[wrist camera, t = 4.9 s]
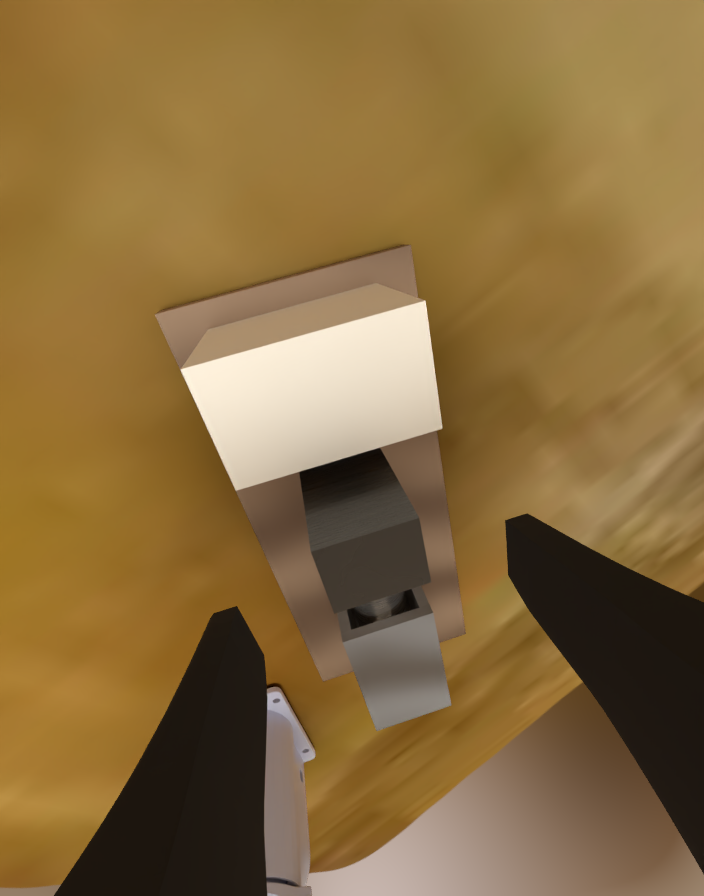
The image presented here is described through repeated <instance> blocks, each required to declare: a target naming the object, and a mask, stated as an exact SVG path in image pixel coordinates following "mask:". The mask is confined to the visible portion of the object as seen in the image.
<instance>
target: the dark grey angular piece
mask: <svg viewBox="0 0 704 896" xmlns="http://www.w3.org/2000/svg"><path fill="white" fill-rule="evenodd" d="M299 474H300V481H301V488H302V495H303V502H304V508H305V515H306V522H307V529H308V536H309V543H310V550H311V554H312V556H313V559H314V562H315V564H316V567H317V570H318V572H319V575H320V578H321V580H322V583H323V585H324V588H325V591H326V593H327V596H328V599H329V601H330V604H331V606H332V609H333V612H334V614H335V613H338V612H341V611H344V610H348V609H351V608H353V609H354V612H355V615H356V617H357V620H358V623H359V626H360V627H362V626H365V625H368V624H371V623H374V622H377V621H380V620H383V619H386V618H389V617H392V616H395V615H398V614H401V613H404V612H407V611H410V610H409V606H408V602H407V597H406V593H405V591H406V590H409V589H412V588H415V587H418V586H422V585H425V584H428V583H431V577H430V572H429V567H428V561H427V556H426V551H425V546H424V540H423V535H422V530H421V524H420V519H419V516H418V515H417V513H416V511H415V509H414V508H413V506H412V504H411V502H410V500H409V499H408V497H407V495H406V493H405V491H404V490H403V488H402V486H401V484H400V482H399V481H398V479H397V477H396V475H395V473H394V472H393V470H392V468H391V466H390V464H389V463H388V461H387V459H386V457H385V456H384V454H383V452H382V450H381V448H377V449H373V450H370V451H367V452H363V453H360V454H357V455H353V456H350V457H347V458H343V459H340V460H337V461H333V462H330V463H327V464H323V465H320V466H317V467H313V468H310V469H307V470H303V471H300V472H299Z"/></svg>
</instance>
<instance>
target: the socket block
mask: <svg viewBox="0 0 704 896" xmlns="http://www.w3.org/2000/svg"><path fill="white" fill-rule="evenodd" d="M180 370H181V372H182V374H183V376H184V378H185V381H186V383H187V385H188V387H189V389H190V392H191V394H192V396H193V398H194V400H195V402H196V405H197V407H198V409H199V411H200V413H201V416H202V418H203V420H204V422H205V424H206V426H207V429H208V431H209V433H210V435H211V437H212V440H213V442H214V444H215V446H216V448H217V450H218V453H219V455H220V457H221V459H222V461H223V464H224V466H225V468H226V470H227V472H228V474H229V477H230V479H231V481H232V483H233V485H234V488H235V490H236V491H237V490H240V489H244V488H247V487H250V486H254V485H257V484H260V483H264V482H267V481H270V480H274V479H277V478H280V477H284V476H287V475H290V474H294V473H297V472H300V471H303V470H307V469H310V468H313V467H317V466H320V465H323V464H327V463H330V462H333V461H337V460H340V459H343V458H347V457H350V456H353V455H357V454H360V453H363V452H367V451H370V450H373V449H377V448H380V447H383V446H386V445H390V444H393V443H396V442H400V441H403V440H406V439H410V438H413V437H416V436H420V435H423V434H426V433H430V432H433V431H436V430H440V429H443V428H442V421H441V413H440V406H439V398H438V391H437V383H436V376H435V368H434V361H433V353H432V346H431V338H430V331H429V323H428V316H427V308H426V301H425V300H422V299H419V298H417V297H414V296H411V295H408V294H405V293H403V292H400V291H397V290H394V289H391V288H389V287H386V286H383V285H380V284H378V283H374V284H371V285H367V286H363V287H360V288H356V289H353V290H349V291H345V292H342V293H338V294H334V295H331V296H327V297H324V298H320V299H316V300H313V301H309V302H305V303H302V304H298V305H295V306H291V307H287V308H284V309H280V310H276V311H273V312H269V313H266V314H262V315H258V316H255V317H251V318H248V319H244V320H240V321H237V322H233V323H229V324H226V325H222V326H219V327H215V328H211V329H208V330H207V331H206V333H205V334H204V336H203V337H202V339H201V340H200V342H199V343H198V345H197V346H196V347H195V349H194V350H193V352H192V353H191V355H190V356H189V358H188V359H187V361H186V362H185V364H184V365H183V366H182V368H181V369H180Z"/></svg>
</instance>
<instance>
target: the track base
mask: <svg viewBox="0 0 704 896" xmlns="http://www.w3.org/2000/svg"><path fill="white" fill-rule="evenodd" d="M374 283H378V284H380V285H383V286H386V287H389V288H391V289H394V290H397V291H400V292H403V293H405V294H408V295H411V296H414V297H417V298H418V293H417V286H416V279H415V272H414V265H413V258H412V251H411V245H400V246H397V247H393V248H389V249H386V250H382V251H378V252H375V253H371V254H367V255H364V256H360V257H356V258H353V259H349V260H345V261H341V262H338V263H334V264H330V265H327V266H323V267H319V268H316V269H312V270H308V271H305V272H301V273H297V274H294V275H290V276H286V277H283V278H279V279H275V280H271V281H268V282H264V283H260V284H257V285H253V286H249V287H246V288H242V289H238V290H235V291H231V292H227V293H224V294H220V295H216V296H212V297H209V298H205V299H201V300H198V301H194V302H190V303H187V304H183V305H179V306H176V307H172V308H168V309H165V310H161V311H159V312H158V313H156V314H155V316H156V318H157V320H158V322H159V325H160V327H161V329H162V331H163V333H164V336H165V338H166V340H167V342H168V344H169V346H170V349H171V351H172V353H173V355H174V357H175V360H176V362H177V364H178V366H179V368H180V369H181V368H182V366H183V365H184V364H185V362H186V361H187V359H188V358H189V356H190V355H191V353H192V352H193V350H194V349H195V347H196V346H197V345H198V343H199V342H200V340H201V339H202V337H203V336H204V334H205V333H206V331H207V330H208V329H211V328H215V327H219V326H222V325H226V324H229V323H233V322H237V321H240V320H244V319H248V318H251V317H255V316H258V315H262V314H266V313H269V312H273V311H276V310H280V309H284V308H287V307H291V306H295V305H298V304H302V303H305V302H309V301H313V300H316V299H320V298H324V297H327V296H331V295H334V294H338V293H342V292H345V291H349V290H353V289H356V288H360V287H363V286H367V285H371V284H374ZM181 373H182V372H181ZM182 375H183V374H182ZM183 377H184V376H183ZM184 379H185V378H184ZM186 384H187V383H186ZM187 386H188V385H187ZM188 388H189V387H188ZM189 390H190V389H189ZM192 397H193V396H192ZM193 399H194V398H193ZM194 401H195V400H194ZM195 403H196V402H195ZM198 410H199V409H198ZM199 412H200V411H199ZM200 414H201V413H200ZM203 421H204V420H203ZM204 423H205V422H204ZM205 425H206V424H205ZM206 427H207V426H206ZM209 434H210V433H209ZM210 436H211V435H210ZM211 438H212V437H211ZM214 445H215V444H214ZM215 447H216V446H215ZM380 448H381V450H382V452H383V454H384V456H385V457H386V459H387V461H388V463H389V464H390V466H391V468H392V470H393V472H394V473H395V475H396V477H397V479H398V481H399V482H400V484H401V486H402V488H403V490H404V491H405V493H406V495H407V497H408V499H409V500H410V502H411V504H412V506H413V508H414V509H415V511H416V513H417V515H418V516H419V519H420V524H421V530H422V535H423V540H424V546H425V551H426V556H427V561H428V567H429V572H430V577H431V583H428V584H425V585H422V586H418V587H415V588H412V589H409V590H406V591H405V593H406V597H407V602H408V606H409V610H410V611H407V612H404V613H401V614H398V615H395V616H392V617H389V618H386V619H383V620H380V621H377V622H374V623H371V624H368V625H365V626H362V627H360V626H359V623H358V620H357V617H356V615H355V612H354V609H353V608H351V609H348V610H344V611H341V612H338V613H335V614H334V612H333V609H332V606H331V604H330V601H329V599H328V596H327V593H326V591H325V588H324V585H323V583H322V580H321V578H320V575H319V572H318V570H317V567H316V564H315V562H314V559H313V556H312V554H311V550H310V543H309V536H308V529H307V522H306V515H305V508H304V502H303V495H302V488H301V481H300V474H299V472H297V473H294V474H290V475H287V476H284V477H280V478H277V479H274V480H270V481H267V482H264V483H260V484H257V485H254V486H250V487H247V488H244V489H240V490H237V491H236V493H237V495H238V497H239V499H240V501H241V503H242V506H243V508H244V510H245V512H246V514H247V517H248V519H249V521H250V523H251V525H252V527H253V530H254V532H255V534H256V536H257V538H258V541H259V543H260V545H261V547H262V549H263V551H264V554H265V556H266V558H267V560H268V562H269V565H270V567H271V569H272V571H273V573H274V575H275V578H276V580H277V582H278V584H279V586H280V589H281V591H282V593H283V595H284V597H285V599H286V602H287V604H288V606H289V608H290V610H291V613H292V615H293V617H294V619H295V621H296V623H297V626H298V628H299V630H300V632H301V634H302V637H303V639H304V641H305V643H306V645H307V647H308V650H309V652H310V654H311V656H312V658H313V661H314V663H315V665H316V667H317V669H318V671H319V674H320V676H321V678H322V680H323V681H326V680H329V679H332V678H335V677H338V676H341V675H344V674H347V673H350V672H353V671H354V673H355V676H356V679H357V681H358V684H359V686H360V689H361V692H362V694H363V697H364V699H365V702H366V704H367V707H368V710H369V712H370V715H371V717H372V720H373V723H374V725H375V728H376V730H377V731H378V730H381V729H384V728H387V727H390V726H393V725H396V724H399V723H402V722H405V721H407V720H410V719H413V718H416V717H419V716H422V715H425V714H428V713H431V712H434V711H436V710H439V709H442V708H445V707H448V706H451V701H450V696H449V690H448V685H447V680H446V675H445V670H444V665H443V660H442V655H441V650H440V645H439V643H440V642H443V641H446V640H449V639H452V638H455V637H458V636H461V635H464V634H466V632H465V625H464V618H463V611H462V604H461V597H460V590H459V583H458V576H457V569H456V562H455V555H454V548H453V541H452V534H451V526H450V519H449V512H448V505H447V498H446V491H445V484H444V477H443V470H442V463H441V456H440V449H439V442H438V435H437V430H436V431H433V432H430V433H426V434H423V435H420V436H416V437H413V438H410V439H406V440H403V441H400V442H396V443H393V444H390V445H386V446H383V447H380ZM216 449H217V448H216ZM217 451H218V450H217ZM220 458H221V457H220ZM221 460H222V459H221ZM222 462H223V461H222ZM225 469H226V468H225ZM226 471H227V470H226ZM227 473H228V472H227ZM228 475H229V474H228ZM231 482H232V481H231ZM232 484H233V483H232ZM233 486H234V485H233Z"/></svg>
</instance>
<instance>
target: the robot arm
mask: <svg viewBox="0 0 704 896" xmlns="http://www.w3.org/2000/svg"><path fill="white" fill-rule="evenodd" d="M505 523H506V541H507V559H508V575H509V577H510V579H511V581H512V582H513V584H514V586H515V588H516V589H517V591H518V593H519V594H520V596H521V598H522V599H523V601H524V603H525V604H526V606H527V608H528V609H529V611H530V612H531V614H532V615H533V616H534V618H535V619H536V620H537V622H538V623H539V624H540V626H541V627H542V628H543V630H544V631H545V632H546V634H547V635H548V636H549V638H550V639H551V640H552V642H553V643H554V644H555V646H556V647H557V648H558V649H559V651H560V652H561V653H562V655H563V656H564V657H565V659H566V660H567V661H568V663H569V664H570V665H571V667H572V668H573V669H574V670H575V672H576V673H577V674H578V676H579V677H580V678H581V680H582V681H583V682H584V684H585V685H586V686H587V688H588V689H589V690H590V691H591V693H592V694H593V696H594V697H595V699H596V700H597V701H598V703H599V704H600V705H601V707H602V708H603V710H604V711H605V713H606V714H607V716H608V717H609V719H610V721H611V722H612V724H613V725H614V727H615V728H616V730H617V731H618V733H619V735H620V736H621V738H622V739H623V741H624V742H625V744H626V746H627V747H628V749H629V750H630V752H631V754H632V755H633V756H634V758H635V760H636V761H637V763H638V765H639V766H640V768H641V770H642V771H643V773H644V775H645V776H646V778H647V779H648V781H649V783H650V784H651V786H652V788H653V789H654V791H655V792H656V794H657V796H658V797H659V799H660V801H661V802H662V804H663V805H664V807H665V809H666V811H667V812H668V813H669V816H670V817H671V819H672V821H673V822H674V824H675V826H676V827H677V829H678V831H679V833H680V834H681V836H682V838H683V839H684V841H685V843H686V844H687V846H688V848H689V849H690V851H691V853H692V855H693V856H694V858H695V859H696V861H697V863H698V865H699V867H700V868H701V870H702V872H703V873H704V602H701V601H699V600H697V599H694V598H692V597H689V596H687V595H685V594H682V593H680V592H678V591H675V590H673V589H671V588H669V587H667V586H664V585H662V584H660V583H658V582H656V581H654V580H652V579H650V578H647V577H645V576H643V575H641V574H639V573H637V572H635V571H633V570H631V569H629V568H627V567H625V566H623V565H621V564H619V563H617V562H615V561H613V560H611V559H609V558H607V557H605V556H603V555H601V554H600V553H598V552H596V551H594V550H592V549H590V548H588V547H586V546H585V545H583V544H581V543H579V542H577V541H576V540H574V539H572V538H570V537H568V536H567V535H565V534H563V533H561V532H559V531H558V530H556V529H554V528H552V527H551V526H549V525H547V524H545V523H543V522H542V521H540V520H538V519H536V518H535V517H533V516H531V515H529V514H524V515H521V516H518V517H514V518H511V519H508V520H505ZM315 756H316V755H315V749H314V748H313V746H312V744H311V742H310V740H309V739H308V737H307V735H306V733H305V731H304V730H303V728H302V726H301V724H300V722H299V721H298V719H297V717H296V715H295V713H294V712H293V710H292V708H291V706H290V704H289V703H288V701H287V699H286V697H285V695H284V694H283V692H282V690H281V689H280V688H279V687H271V688H268V689H267V684H266V671H265V660H264V654H263V653H262V651H261V649H260V647H259V645H258V643H257V642H256V640H255V638H254V636H253V634H252V633H251V631H250V629H249V627H248V625H247V624H246V622H245V620H244V618H243V616H242V614H241V613H240V611H239V609H238V607H237V606H236V607H232V608H229V609H226V610H223V611H220V612H217V613H214V614H213V615H212V617H211V618H210V620H209V623H208V625H207V627H206V629H205V631H204V633H203V636H202V638H201V640H200V642H199V644H198V647H197V649H196V651H195V653H194V655H193V657H192V660H191V662H190V664H189V666H188V668H187V670H186V672H185V674H184V676H183V678H182V680H181V683H180V685H179V687H178V689H177V691H176V693H175V695H174V697H173V699H172V701H171V703H170V705H169V707H168V709H167V711H166V713H165V715H164V717H163V718H162V720H161V722H160V724H159V726H158V728H157V730H156V731H155V733H154V735H153V737H152V739H151V741H150V742H149V744H148V746H147V748H146V750H145V752H144V754H143V755H142V757H141V759H140V761H139V763H138V764H137V766H136V768H135V770H134V771H133V773H132V775H131V776H130V778H129V780H128V782H127V783H126V785H125V787H124V788H123V790H122V792H121V793H120V795H119V797H118V798H117V800H116V801H115V803H114V805H113V806H112V808H111V810H110V811H109V813H108V814H107V816H106V818H105V819H104V821H103V822H102V824H101V826H100V827H99V829H98V830H97V832H96V833H95V835H94V836H93V838H92V839H91V841H90V842H89V844H88V845H87V847H86V848H85V850H84V852H83V853H82V855H81V856H80V858H79V859H78V861H77V862H76V864H75V865H74V867H73V868H72V870H71V871H70V873H69V874H68V876H67V877H66V878H65V880H64V881H63V883H62V884H61V886H60V887H59V889H58V891H57V892H56V893H55V895H54V896H312V892H311V887H310V886H306V883H307V879H308V874H309V868H310V844H309V830H308V817H307V803H306V789H305V775H304V762H307V761H310V760H312V759H314V758H315Z"/></svg>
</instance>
